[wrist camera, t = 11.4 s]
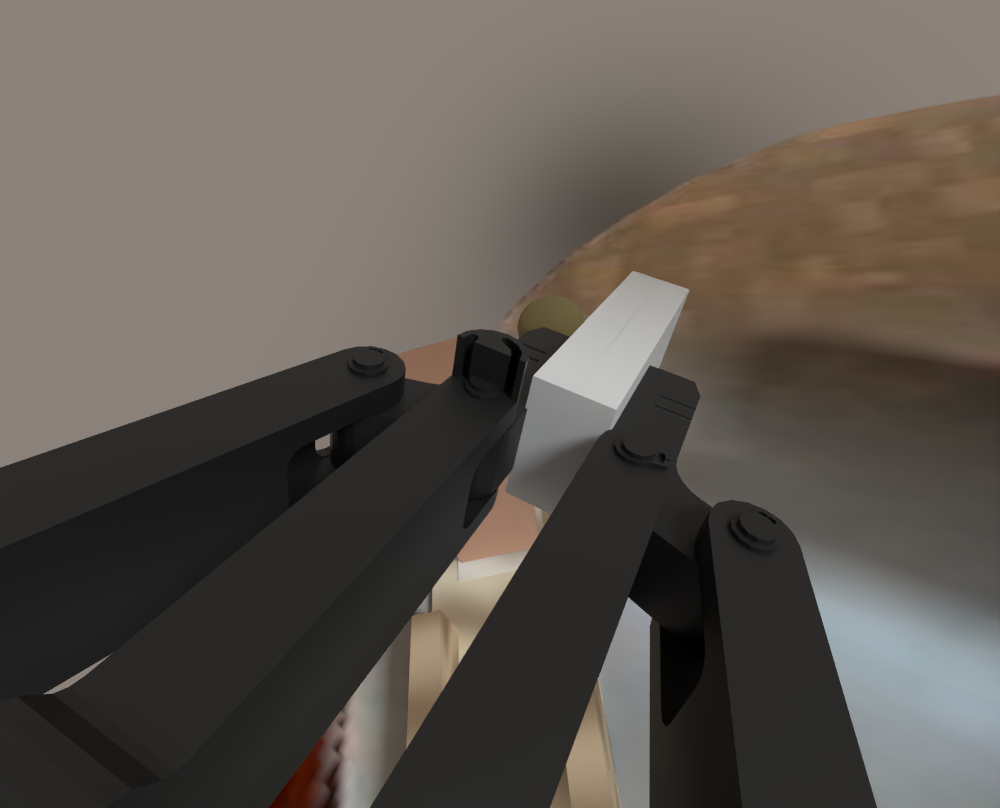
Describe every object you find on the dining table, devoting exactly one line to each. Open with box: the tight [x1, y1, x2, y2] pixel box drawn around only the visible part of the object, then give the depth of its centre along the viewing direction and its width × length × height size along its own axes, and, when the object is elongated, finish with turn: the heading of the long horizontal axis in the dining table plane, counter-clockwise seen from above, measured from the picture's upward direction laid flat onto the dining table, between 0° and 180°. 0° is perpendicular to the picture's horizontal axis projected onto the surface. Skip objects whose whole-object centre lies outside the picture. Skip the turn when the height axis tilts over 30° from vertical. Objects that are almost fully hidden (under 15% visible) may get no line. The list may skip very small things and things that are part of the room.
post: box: [397, 338, 538, 563], centre depth 38 cm, size 6×6×16 cm
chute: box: [406, 506, 622, 808], centre depth 37 cm, size 24×11×4 cm, turn 4°
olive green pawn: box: [518, 295, 585, 338], centre depth 46 cm, size 6×6×11 cm
